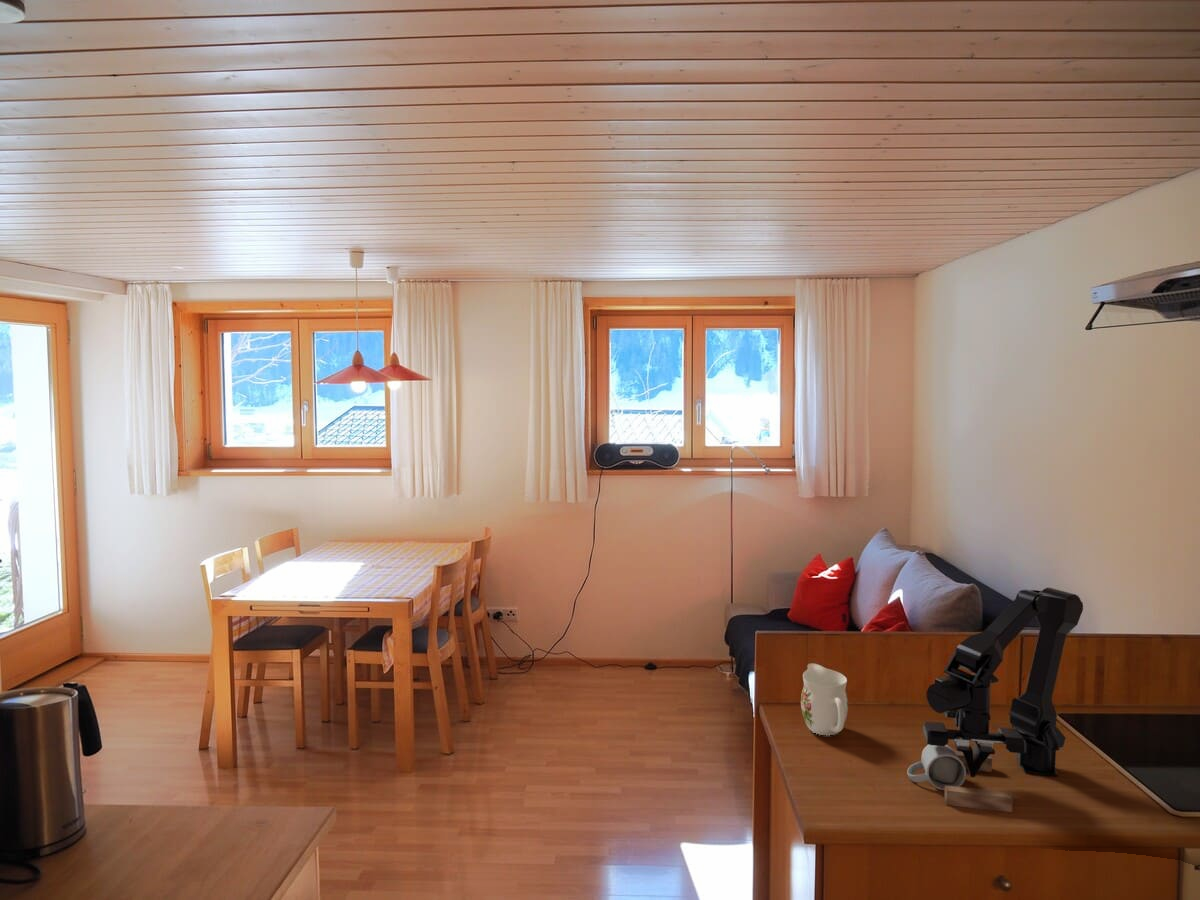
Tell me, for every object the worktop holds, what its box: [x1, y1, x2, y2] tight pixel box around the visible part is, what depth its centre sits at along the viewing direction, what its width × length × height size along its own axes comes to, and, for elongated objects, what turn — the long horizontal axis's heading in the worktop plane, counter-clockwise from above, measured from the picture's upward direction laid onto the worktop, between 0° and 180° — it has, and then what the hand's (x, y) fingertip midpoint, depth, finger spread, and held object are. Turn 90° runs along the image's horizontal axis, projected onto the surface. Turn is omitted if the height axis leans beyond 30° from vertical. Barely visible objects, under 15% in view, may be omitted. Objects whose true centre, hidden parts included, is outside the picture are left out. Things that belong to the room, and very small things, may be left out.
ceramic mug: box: [906, 744, 967, 792], centre depth 164 cm, size 11×8×8 cm
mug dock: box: [943, 750, 1014, 813], centre depth 162 cm, size 12×18×3 cm, turn 166°
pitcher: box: [800, 663, 849, 737], centre depth 186 cm, size 11×18×14 cm, turn 8°
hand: (972, 776), depth 162 cm, fingers closed
